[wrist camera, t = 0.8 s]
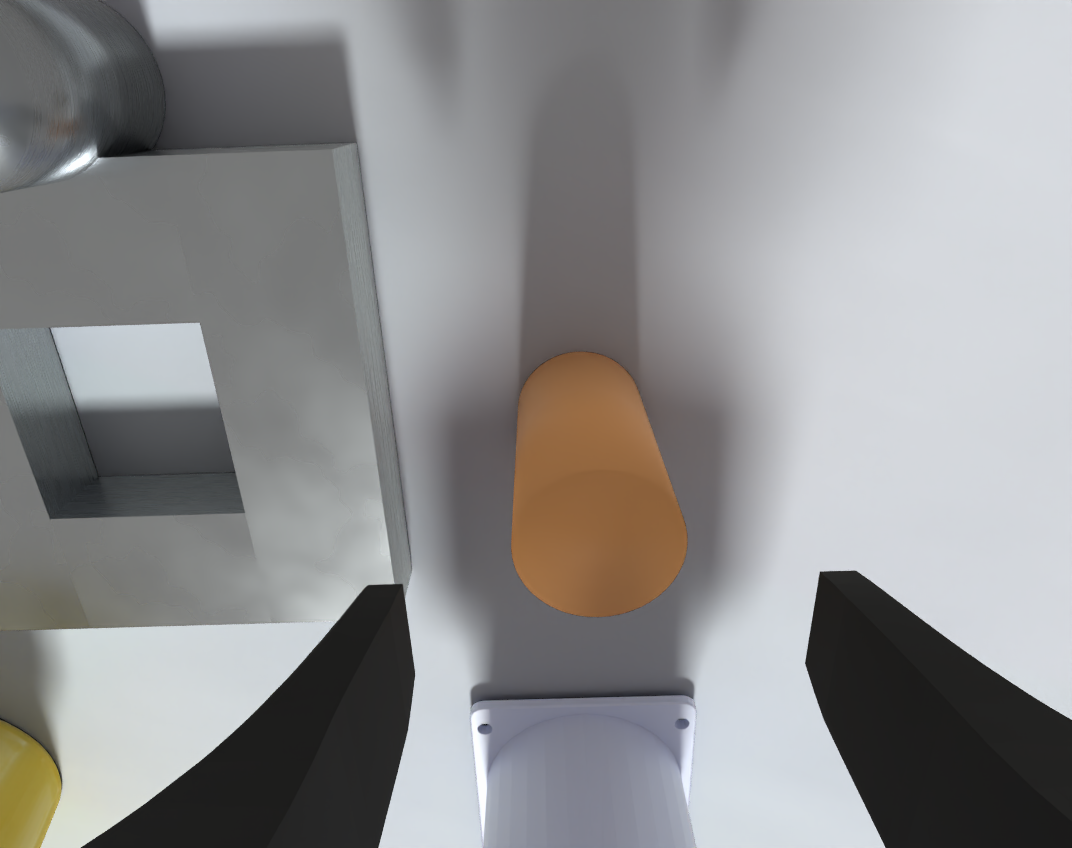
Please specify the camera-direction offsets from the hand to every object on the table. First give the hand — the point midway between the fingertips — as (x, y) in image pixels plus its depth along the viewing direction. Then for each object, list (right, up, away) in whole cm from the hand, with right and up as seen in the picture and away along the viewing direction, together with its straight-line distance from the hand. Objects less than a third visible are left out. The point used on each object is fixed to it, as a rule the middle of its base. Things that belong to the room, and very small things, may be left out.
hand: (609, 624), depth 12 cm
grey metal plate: (-16, +6, +8) cm, 19 cm away
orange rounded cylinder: (0, +4, +9) cm, 9 cm away
